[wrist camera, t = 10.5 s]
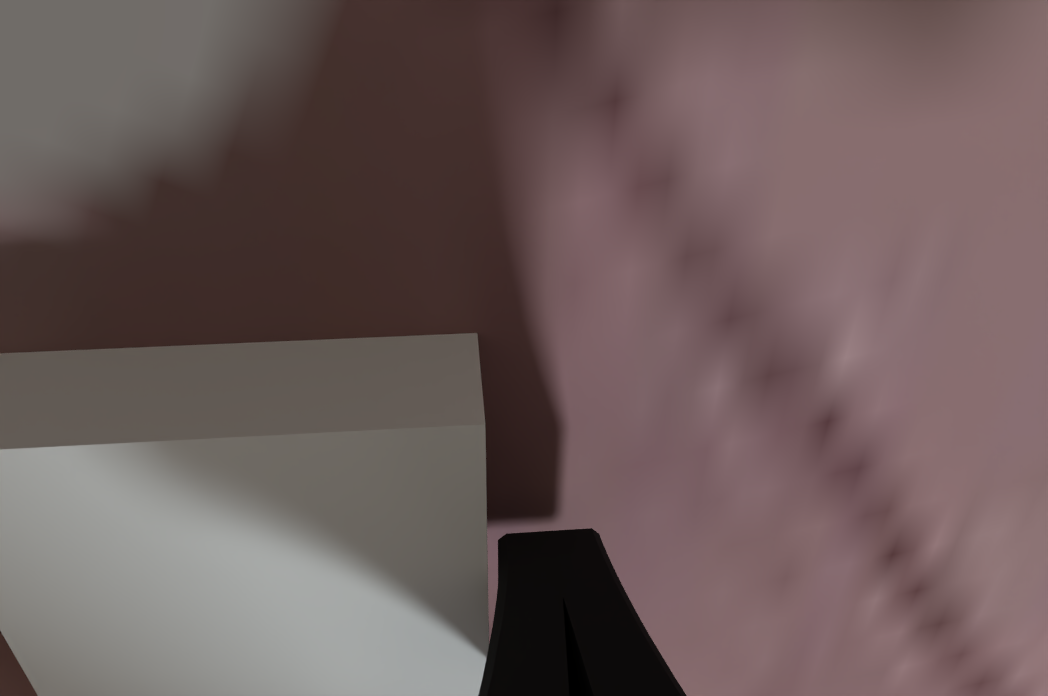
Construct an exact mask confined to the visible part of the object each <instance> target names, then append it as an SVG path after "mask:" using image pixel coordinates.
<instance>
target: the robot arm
mask: <svg viewBox="0 0 1048 696" xmlns="http://www.w3.org/2000/svg"><path fill="white" fill-rule="evenodd" d="M478 696H686V694H685V693H684V691H683V689H682V688H681V686H680V685H679V683H678V682H677V680H676V679H675V677H674V675H673V674H672V672H671V670H670V669H669V667H668V665H667V664H666V662H665V660H664V659H663V657H662V656H661V654H660V652H659V651H658V649H657V647H656V646H655V644H654V642H653V641H652V639H651V637H650V636H649V634H648V632H647V630H646V629H645V627H644V625H643V623H642V622H641V620H640V618H639V616H638V614H637V613H636V611H635V609H634V607H633V605H632V603H631V601H630V600H629V598H628V596H627V594H626V592H625V590H624V588H623V586H622V584H621V582H620V580H619V578H618V576H617V574H616V572H615V570H614V568H613V566H612V564H611V561H610V559H609V557H608V555H607V552H606V550H605V548H604V546H603V543H602V541H601V538H600V535H599V534H598V533H597V532H596V531H594V530H593V529H592V528H591V529H575V530H559V531H543V532H527V533H511V534H506V535H504V536H503V537H502V538H500V539H499V540H498V592H497V601H496V608H495V615H494V622H493V628H492V634H491V638H490V643H489V648H488V653H487V658H486V663H485V668H484V673H483V678H482V682H481V687H480V691H479V695H478Z"/></svg>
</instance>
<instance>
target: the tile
mask: <svg viewBox="0 0 1048 696" xmlns="http://www.w3.org/2000/svg"><path fill="white" fill-rule="evenodd" d="M0 631H1V633H2V635H3V636H4V638H5V640H6V641H7V643H8V645H9V647H10V648H11V650H12V652H13V654H14V655H15V657H16V659H17V660H18V662H19V664H20V666H21V667H22V669H23V671H24V673H25V674H26V676H27V678H28V680H29V681H30V683H31V685H32V686H33V688H34V690H35V692H36V693H37V695H38V696H478V695H479V691H480V687H481V682H482V678H483V673H484V668H485V663H486V658H487V653H488V648H489V623H488V559H487V495H486V430H485V414H484V403H483V391H482V380H481V369H480V358H479V346H478V335H477V333H465V334H442V335H418V336H395V337H371V338H348V339H324V340H301V341H278V342H254V343H231V344H207V345H184V346H160V347H137V348H114V349H90V350H67V351H43V352H20V353H0Z"/></svg>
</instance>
